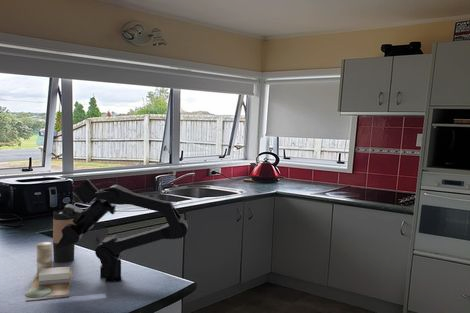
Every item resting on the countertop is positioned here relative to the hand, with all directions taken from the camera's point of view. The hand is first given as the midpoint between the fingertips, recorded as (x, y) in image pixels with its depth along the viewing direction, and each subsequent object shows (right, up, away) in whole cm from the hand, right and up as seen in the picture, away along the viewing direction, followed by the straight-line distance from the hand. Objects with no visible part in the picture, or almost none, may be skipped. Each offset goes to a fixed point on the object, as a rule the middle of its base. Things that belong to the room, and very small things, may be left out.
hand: (61, 244), depth 141 cm
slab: (0, -11, -5) cm, 13 cm away
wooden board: (-1, -13, -6) cm, 14 cm away
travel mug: (-6, -11, +17) cm, 21 cm away
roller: (-6, -11, 0) cm, 12 cm away
